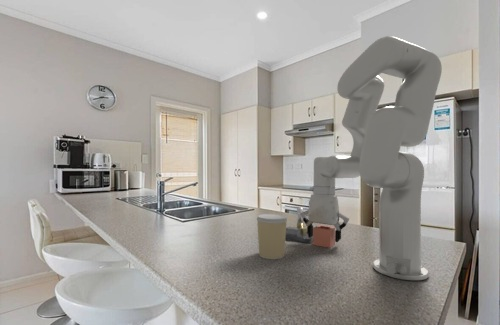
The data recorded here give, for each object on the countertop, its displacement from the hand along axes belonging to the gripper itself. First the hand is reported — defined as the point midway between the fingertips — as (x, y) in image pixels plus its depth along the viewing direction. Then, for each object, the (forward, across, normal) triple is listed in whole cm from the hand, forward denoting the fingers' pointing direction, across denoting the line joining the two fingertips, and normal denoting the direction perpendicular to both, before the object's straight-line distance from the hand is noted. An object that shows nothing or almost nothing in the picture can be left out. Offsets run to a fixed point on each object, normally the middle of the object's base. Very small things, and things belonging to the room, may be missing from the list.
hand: (323, 238), depth 92 cm
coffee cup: (+2, -10, -21) cm, 23 cm away
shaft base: (+2, -11, +6) cm, 12 cm away
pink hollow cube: (+2, 0, 0) cm, 2 cm away
